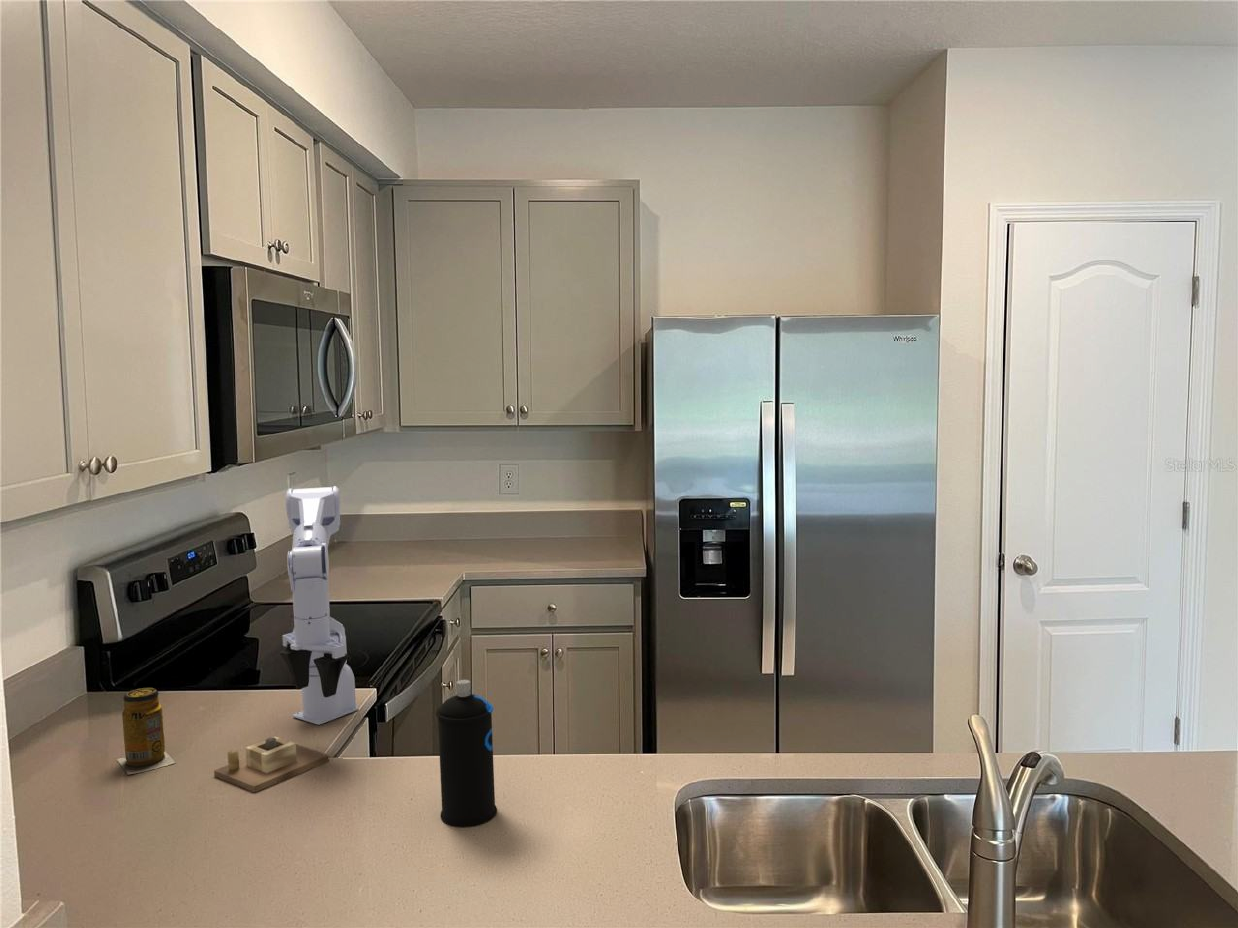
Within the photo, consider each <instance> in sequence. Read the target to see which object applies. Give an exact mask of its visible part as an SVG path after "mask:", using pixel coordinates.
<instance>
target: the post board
mask: <svg viewBox="0 0 1238 928" xmlns="http://www.w3.org/2000/svg"><path fill="white" fill-rule="evenodd" d="M274 737H275V736H271V737H268V738H266V739H265V740H266V751H269V750H272V749H274V748H276V738H274ZM239 756H240V755H239V749H231V750H229V751H227V763H228V764H227V765H225V766H222V767H219V768H217V769H214V770H213V772H214V778H217V779H221V781H224V782H227V783H230V784H232V785H234V786H237V787H240V788H243V789H244V790H247V791H249V792H252V793H254V794H255V793H258V792H260V791H261V790H262V791H263V790H264V789H267V788H269V787H271V786H274V785H276V784H277V783H280V782H282V781H286V780H287V779H290V778H292V777H295V776H297V775H299V774H302V773H303V772H306V771H308V770H310V769H312V768H315V767H316V768H317V766H320V765H322V764H324V763H327V762H329V761H330V760H329V758H330V757H329V755H328V754H326V753H324V752H320V751H318V750H315V749H312V748H308V747H306V746H303V745H300V744H297V743H296V759H297V761H295V762H293V763H290V764H288V765H285V766H283V767H280V768H278V769H276V770H273V771H271V772H268V773H265V772H263V771H260V770H257V769H255V768H252V767H250V766H247V765H246V757H245V758H242V759H240V758H239Z"/></svg>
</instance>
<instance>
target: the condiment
mask: <svg viewBox="0 0 1238 928" xmlns="http://www.w3.org/2000/svg"><path fill="white" fill-rule="evenodd" d="M123 708H124V709H123V710H122V713H121V716H122V731H123V743H124V744H123V745H124V754H125V755H124V756H125V757H121V758H117V759H116V761H117V762H118V763H119V765H120V766H121V767H122V769H123V770H124V772H126V774H127V775H132V774H134V775H136V774H138V773H142V772H147V771H151V770H154V769H155V770H157V769H159V768H163V767H166V766H169V765H173V764H176V762H175V760H174V758H172V756H170V755H169V753H167V751H166V750H165V749H166V744H165V742H166V741H165V733H164V720H163V718H164V717H163V707H162V704H160V698H159V691H158V689H156V688H153V687H143V688H137V689H132V690H129V691H128V692H127V693H125V694H124V695H123Z"/></svg>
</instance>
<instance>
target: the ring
mask: <svg viewBox="0 0 1238 928" xmlns="http://www.w3.org/2000/svg"><path fill="white" fill-rule="evenodd" d="M273 737H274V738H276V748H274V749H272V750H269V751H266V739H265V740H262V741H260V742H257V743H254V744H251V745H249V746H246V747H245V748H244V750H245V758H246V765H247V766H250V767H252V768H255V769H257V770H260V771H263V772H265V773H268V772H271V771H273V770H276V769H278V768H280V767H283V766H285V765H288V764H290V763H293V762H295V761H297V759H296V744H297V743H295V742H293V741H289V740H286V739H284V738H281V737H280V736H279V737H278V736H273Z"/></svg>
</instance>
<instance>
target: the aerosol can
mask: <svg viewBox="0 0 1238 928" xmlns="http://www.w3.org/2000/svg"><path fill="white" fill-rule="evenodd" d="M493 711H494V706H493V705H492V704H491V703H490V702H488V701H487V700H486V699H485V698H484V697H482V696H480V695H477V694H473V693H472V692H471V680H469V679H461V680H458V681H456V695H454V696H451V697H449V698H447V699H446V700H445V701H444V702H443V703H442V704H441V705H440V706H439V707H438V708H437V709H436V711H435V716H436V718H437V723H438V724H437V727H438V745H439V746H438V747H439V748H438V750H439V771H440V772H439V773H440V790H441V791H440V794H441V811H440V819H441V821H443V823H445V824H446V825H448V826H453V827H458V828H468V827H475V826H480V825H483V824H485V823H488V822H489V821H491V820H492V819H493V818H494V817H495V816H496V814H497V812H498V808H497V805H496V797H495V794H496V793H495V773H494V771H495V769H494V768H495V767H494V744H493V742H494V741H493V723H492V722H493V719H492V718H493V716H492V715H493Z"/></svg>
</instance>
